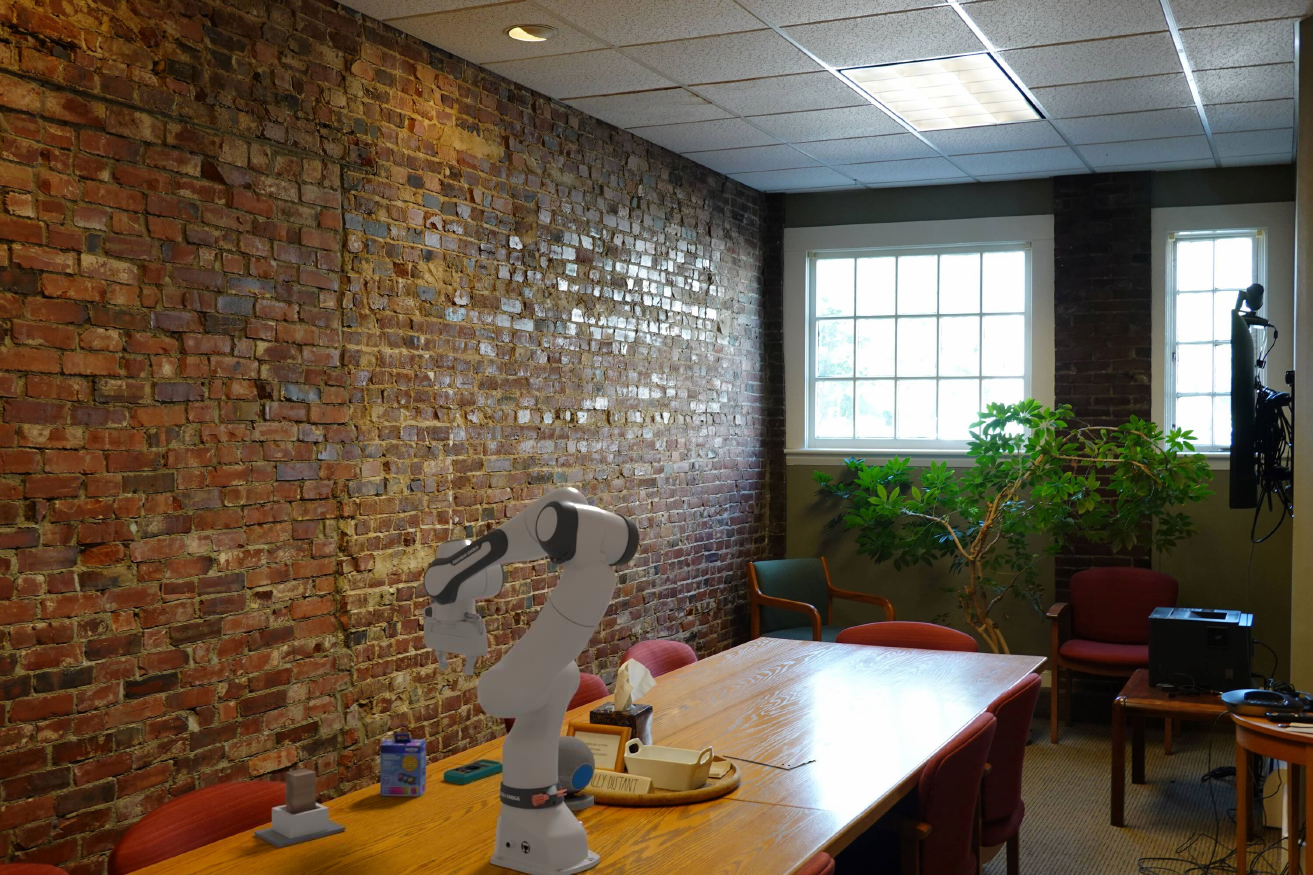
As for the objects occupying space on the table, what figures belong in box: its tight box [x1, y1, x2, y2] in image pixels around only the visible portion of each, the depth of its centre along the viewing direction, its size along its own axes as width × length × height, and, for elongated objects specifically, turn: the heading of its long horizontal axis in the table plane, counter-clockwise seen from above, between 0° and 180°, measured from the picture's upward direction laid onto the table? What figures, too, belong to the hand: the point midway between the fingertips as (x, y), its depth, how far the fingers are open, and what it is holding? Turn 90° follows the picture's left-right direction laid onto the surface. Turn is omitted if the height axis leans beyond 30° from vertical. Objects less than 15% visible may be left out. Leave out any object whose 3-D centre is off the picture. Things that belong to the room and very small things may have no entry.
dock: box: [253, 802, 347, 849], centre depth 242 cm, size 11×15×5 cm
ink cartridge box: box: [379, 733, 427, 798], centre depth 271 cm, size 10×6×14 cm, turn 88°
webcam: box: [558, 735, 596, 812], centre depth 263 cm, size 13×13×15 cm
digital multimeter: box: [443, 758, 503, 785], centre depth 286 cm, size 7×15×3 cm, turn 146°
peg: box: [285, 767, 317, 814], centre depth 242 cm, size 4×4×12 cm
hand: (455, 672), depth 260 cm, fingers open, 8 cm apart
